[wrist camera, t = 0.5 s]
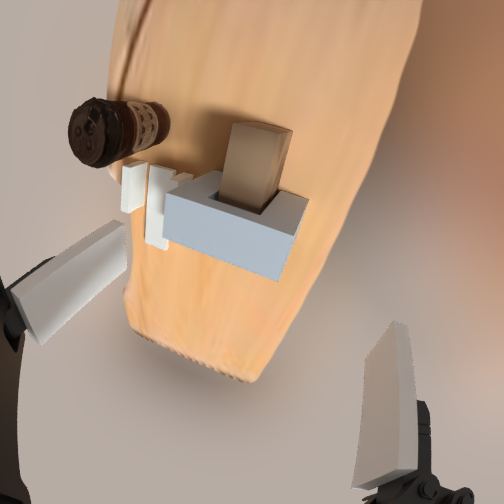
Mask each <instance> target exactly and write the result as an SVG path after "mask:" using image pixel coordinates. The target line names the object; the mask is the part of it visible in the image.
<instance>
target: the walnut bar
mask: <svg viewBox="0 0 504 504" xmlns="http://www.w3.org/2000/svg"><path fill="white" fill-rule="evenodd" d="M292 133H293V131H291V130H288V129H284V128H280V127H277V126H273V125H269V124H265V123H261V122H238V123H233V125H232V129H231V134H230V139H229V144H228V149H227V153H226V158H225V163H224V168H223V174H222V179H221V184H220V189H219V195H218V200H217V201H219V202H222V203H225V204H228V205H231V206H234V207H237V208H240V209H243V210H246V211H249V212H252V213H254V214H257V215H261V214H262V213H263V211H264V210H265V209H266V208H267V207H268V205H269V204H270V203H271V202H272V201H273V199H274V198H275V196H276V193H277V189H278V185H279V182H280V178H281V174H282V170H283V167H284V163H285V159H286V155H287V152H288V148H289V144H290V141H291V137H292Z"/></svg>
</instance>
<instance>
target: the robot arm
mask: <svg viewBox="0 0 504 504" xmlns="http://www.w3.org/2000/svg"><path fill="white" fill-rule="evenodd" d="M126 269H127V262H126V243H125V224H124V223H121V222H119V221H116V220H113V221H111V222H109V223H107V224H106V225H104V226H102V227H101V228H99V229H97V230H96V231H94V232H93V233H91V234H89V235H88V236H86V237H85V238H83V239H81V240H80V241H78V242H77V243H75V244H74V245H72V246H71V247H69V248H68V249H66V250H65V251H63V252H62V253H60V254H59V255H57V256H56V257H55V256H54V257H51V258H49V259H46V260H44V261H43V262H41V263H40V264H39V265H37V267H34V268H33V269H31V270H30V272H27V273H26V274H24V275H23V276H22V277H21V278H19V279H18V280H16V281H15V282H14V283H13V284H11V285H10V286H9V287H7V288H6V289H5V288H4V285H3V283H2V280H1V277H0V504H31V500H30V495H29V492H28V489H27V487H26V486H25V484H24V483H23V481H22V479H21V476H20V469H19V458H18V442H17V406H18V389H19V378H20V368H21V361H22V354H23V347H24V341H25V333H24V331H25V330H26V329H28V332H29V334H30V336H31V337H32V338H33V339H34V340H35V341H36V342H37V343H38V344H39V345H40V346H42V345H43V344H44V343H45V342H46V341H47V340H48V339H49V338H50V337H51V336H52V335H53V334H54V333H55V332H56V331H57V330H58V329H60V328H61V327H62V326H63V325H64V324H65V323H66V322H67V321H68V320H69V319H70V318H71V317H72V316H73V315H75V314H76V313H77V312H78V311H79V310H80V309H81V308H82V307H83V306H84V305H85V304H87V303H88V302H89V301H90V300H91V299H92V298H93V297H94V296H96V294H98V293H99V292H100V291H101V290H102V289H104V288H105V287H106V286H107V285H108V284H109V283H111V282H112V281H113V280H114V279H115V278H117V277H118V276H119V275H120V274H121V273H122V272H124V271H125V270H126ZM430 429H431V428H430V413H429V410H428V408H427V405H426V403H425V402H424V401H419V400H416V387H415V377H414V368H413V359H412V352H411V345H410V338H409V333H408V326H407V325H405V324H402V323H399V322H396V321H393V322H392V323H391V324H390V326H389V328H388V329H387V330H386V332H385V333H384V335H383V336H382V337H381V339H380V340H379V341H378V343H377V344H376V346H375V347H374V348H373V350H372V351H371V352H370V354H369V355H368V356H367V357H366V359H365V371H364V391H363V405H362V416H361V426H360V436H359V443H358V451H357V458H356V465H355V470H354V476H353V482H352V487H351V488H352V489H361V490H371V489H373V488H376V487H378V492H377V493H376V494H373V495H370V496H367V497H365V498H363V499H362V501H366V500H368V501H367V502H366V503H365V504H474V494H473V492H472V490H470V489H469V488H466V487H464V488H461V489H459V490H456V491H452V490H449V489H447V488H444V487H441V486H440V483H439V480H438V479H437V477H436V476H434V475H433V474H432V473H431V437H430V435H431V430H430Z"/></svg>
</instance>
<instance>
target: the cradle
mask: <svg viewBox="0 0 504 504" xmlns="http://www.w3.org/2000/svg"><path fill="white" fill-rule="evenodd" d="M147 164H148V162H145V161H141V160H140V161H136V162H133V163H130V164H127V165H124V166H123V169H122V188H121V211H123V212H126V213H130V212H132V211H134V210H136V209H137V208H139V207H141V206H143V205H144V200H145V186H146V174H147ZM176 172H177V170H175V169H171V168H168V167H164V166H160V165H156V164H153V165H150V172H149V183H148V195H147V210H146V231H145V243H147V244H150V245H152V246H154V247H157V248H159V249H162V250H164V251H166V250H167V249H168V247H169V240H168V239H165V238H163V237H162V233H163V220H164V209H165V199H166V193H167V192H169V191H171V190H173V189H175V188H177V187H179V186H181V185H183V184H185V183H187V182H189V181H191V180H193V176H194V175H193V174H189V173H186V172H183V173H181V174H178V175H176Z"/></svg>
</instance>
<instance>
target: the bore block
mask: <svg viewBox="0 0 504 504" xmlns="http://www.w3.org/2000/svg"><path fill="white" fill-rule="evenodd" d="M222 174H223V172H221V171H217V170H213V171H211V172H208V173H206V174H204V175H202V176H200V177H198V178H195V179H193V180H191V181H189V182H187V183H185V184H183V185H181V186H179V187H177V188H175V189H173V190H171V191H169V192H167V193H166V199H165V209H164V220H163V233H162V237H163V238H165V239H168V240H170V241H173V242H175V243H178V244H180V245H183V246H186V247H188V248H191V249H193V250H196V251H198V252H201V253H203V254H206V255H209V256H211V257H214V258H216V259H219V260H222V261H224V262H227V263H229V264H232V265H235V266H237V267H240V268H242V269H245V270H248V271H250V272H253V273H256V274H258V275H261V276H264V277H266V278H269V279H272V280H274V281H277V282H278V281H279V278H280V276H281V273H282V271H283V269H284V266H285V264H286V261H287V259H288V256H289V254H290V251H291V249H292V246H293V244H294V241H295V239H296V236H297V234H298V231H299V228H300V225H301V222H302V219H303V216H304V213H305V210H306V207H307V204H308V201H309V200H308V199H305V198H302V197H300V196H297V195H294V194H291V193H288V192H285V191H282V190H281V191H280V192H279V193H278V195H277V196H276V197H275V198H274V199H273V201H272V202H271V203H270V204H269V205H268V207H267V208H266V209H265V210H264V211H263V213H262V214H261V215H257V214H254V213H252V212H249V211H246V210H243V209H240V208H237V207H234V206H231V205H228V204H225V203H222V202H219V201H217V200H218V195H219V189H220V184H221V179H222Z"/></svg>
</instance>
